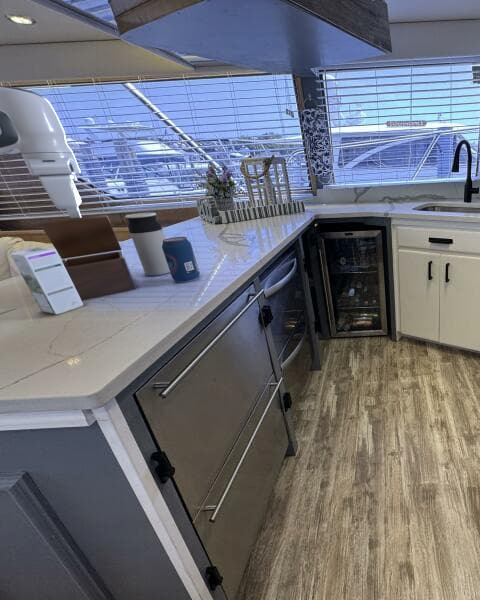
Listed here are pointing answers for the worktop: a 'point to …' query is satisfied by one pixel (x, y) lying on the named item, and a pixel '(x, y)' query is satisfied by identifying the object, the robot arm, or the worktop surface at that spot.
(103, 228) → the chest lid
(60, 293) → the syrup box
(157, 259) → the travel mug
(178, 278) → the soda can
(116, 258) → the chest
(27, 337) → the worktop surface
